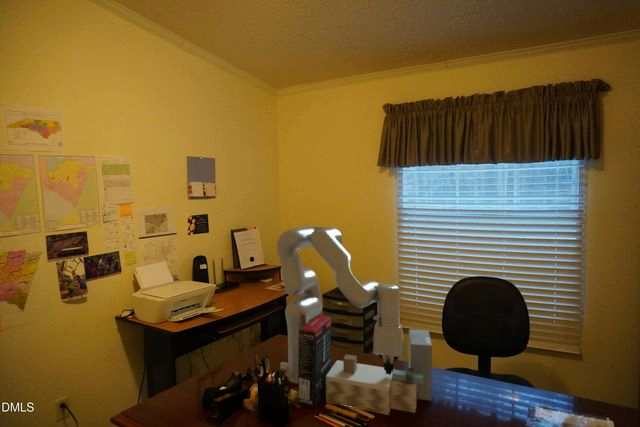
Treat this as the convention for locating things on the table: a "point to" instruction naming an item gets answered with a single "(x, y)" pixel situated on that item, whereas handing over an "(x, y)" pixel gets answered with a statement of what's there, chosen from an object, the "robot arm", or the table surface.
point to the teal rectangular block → (402, 376)
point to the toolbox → (375, 395)
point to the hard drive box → (421, 361)
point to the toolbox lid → (359, 374)
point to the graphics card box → (314, 360)
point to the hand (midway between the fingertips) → (388, 372)
